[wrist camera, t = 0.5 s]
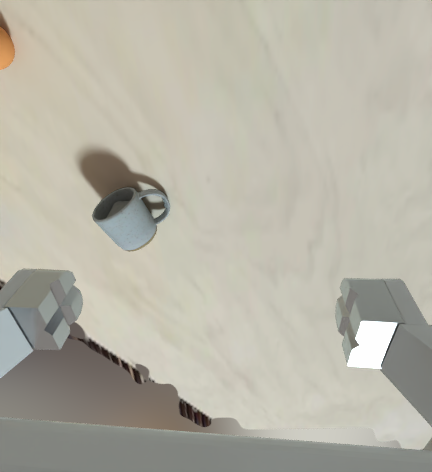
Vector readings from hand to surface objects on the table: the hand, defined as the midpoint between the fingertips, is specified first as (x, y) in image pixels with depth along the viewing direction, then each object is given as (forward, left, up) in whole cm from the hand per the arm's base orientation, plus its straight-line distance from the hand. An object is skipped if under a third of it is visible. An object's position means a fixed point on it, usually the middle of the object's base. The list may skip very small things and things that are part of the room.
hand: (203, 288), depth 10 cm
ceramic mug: (+23, -16, -37) cm, 46 cm away
